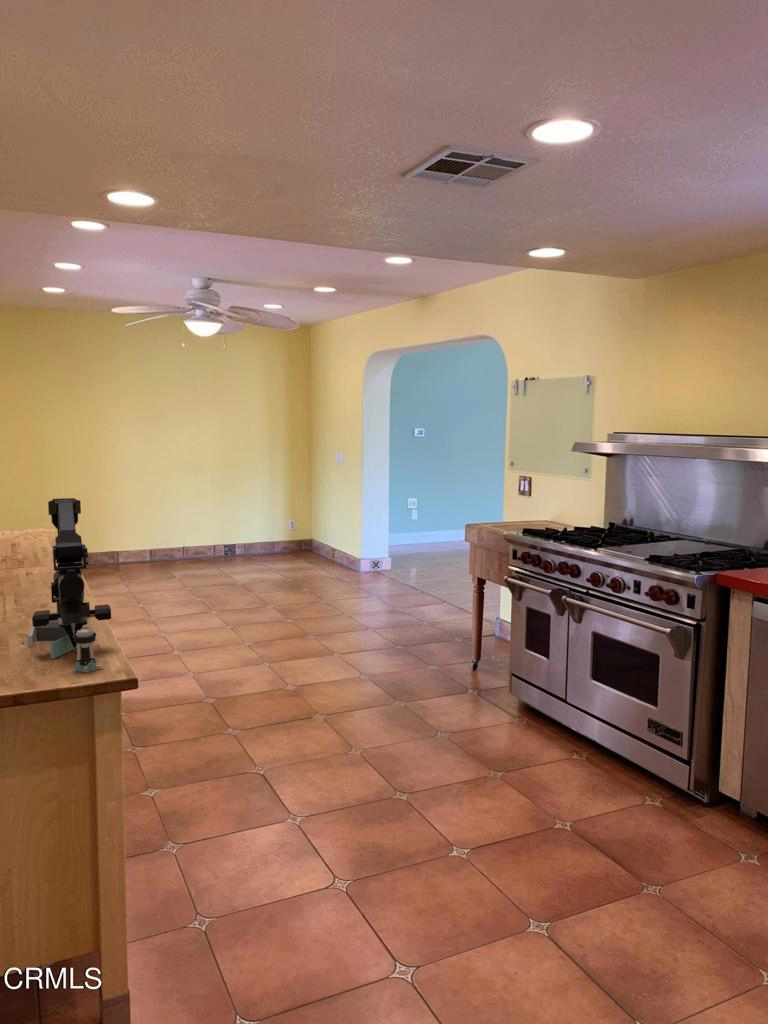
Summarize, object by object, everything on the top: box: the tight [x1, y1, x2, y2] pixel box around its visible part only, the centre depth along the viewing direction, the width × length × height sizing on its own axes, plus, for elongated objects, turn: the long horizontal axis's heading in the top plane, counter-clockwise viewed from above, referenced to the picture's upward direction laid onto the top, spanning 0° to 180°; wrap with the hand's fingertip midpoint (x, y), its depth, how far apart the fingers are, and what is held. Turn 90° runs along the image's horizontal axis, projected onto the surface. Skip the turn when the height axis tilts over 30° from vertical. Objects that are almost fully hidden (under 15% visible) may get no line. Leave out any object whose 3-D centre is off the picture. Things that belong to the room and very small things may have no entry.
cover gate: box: [49, 635, 81, 659], centre depth 200 cm, size 1×13×4 cm, turn 167°
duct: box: [27, 620, 89, 648], centre depth 212 cm, size 17×15×4 cm
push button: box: [73, 628, 104, 674], centre depth 186 cm, size 7×5×10 cm
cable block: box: [35, 623, 73, 642], centre depth 212 cm, size 5×8×4 cm, turn 92°
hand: (74, 647), depth 199 cm, fingers closed
